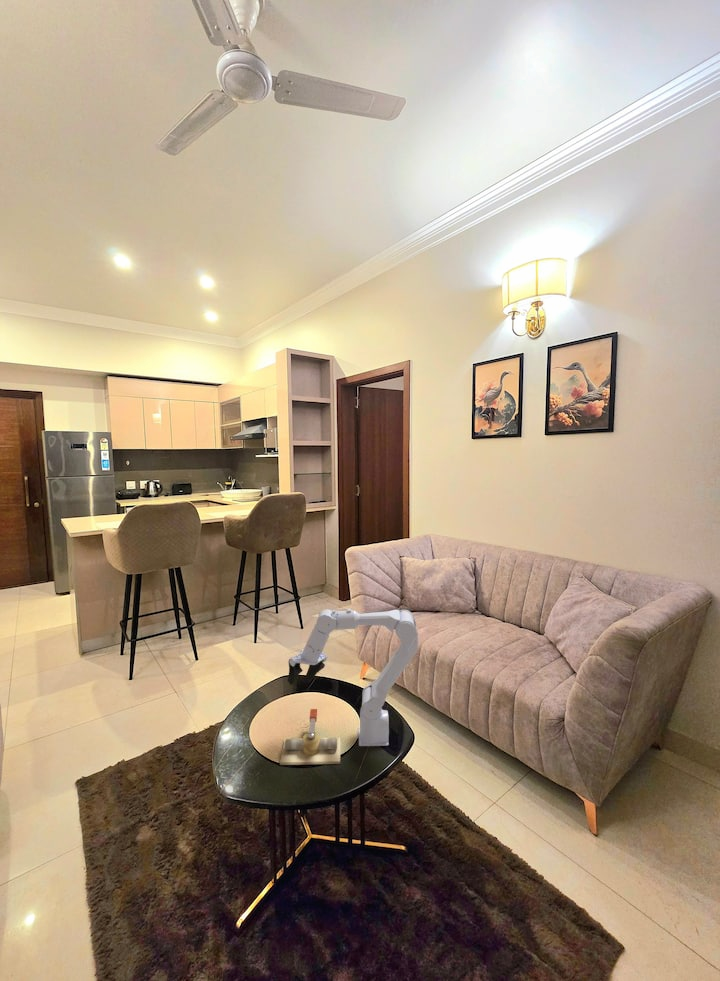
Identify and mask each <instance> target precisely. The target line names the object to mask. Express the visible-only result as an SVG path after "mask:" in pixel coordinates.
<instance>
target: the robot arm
mask: <svg viewBox="0 0 720 981" xmlns="http://www.w3.org/2000/svg"><path fill="white" fill-rule="evenodd" d="M359 626H384V627H386V629H388V630H389V631H390V632H391V633H393V634H394V630H395V634H396V637H398V639H399V640H400V642H401V643H400V645H399V646H398V648H397V650H396V651H395V652H394V654H393V655H392V657H391V658H390V659H389V661H387V664H386V665H385V666H384V668H383V670H382V671H381V672H380V674H379V675H378V676H377V678H376V679H375V680H372V681H371V683H370V684H368V685H367V686H365V687H364V688H363V689H362V695H361V696H362V699H361V700H362V701H361V707H360V709H359V728H357V729H358V730H357V731H358V732H357V733H358V746H359V747H381V746H383V747H384V746H387V747H388V746H389V745H390V744H389V735H390V728H389V727H390V726H389V724H390V723H389V719H390V718H389V712H388V710H386V709H383V706H384V704H385V702H386V699H387V696H388V693H389V692H390V690H391V689H392V687H393V686H394V684H396V681H397V680H398V678H399V677H400V676H401V675H402V674H403V672H404V670H405V669H406V667H407V666H408V664H409V663H410V662H411V660H412V659H413V657H414V656H415V655H416V653H417V651H418V649H419V645H418V644H419V643H418V642H419V639H418V637H419V632H418V628H417V623H416V620H415V616H414V615H413V613H412V611H410V610H408V609H401V610H399V609H392V610H388V611H378V612H377V611H376V612H369V613H368V612H367V613H366V612H365V613H359V612H358V611H356V610H352V608H347V610H336V609H333V610H331V609H327V608H326V609H323V610H321V611H320V612H319V613H318V617H317V620H316V623H315V624H314V626H313V629H312V631H311V633H310V635H309V637H308V639H307V642H306V643H305V646H304V648H303V649H301V650H300V653H298V654H297V655H295V656H291V657H290V658H289V660H288V662H287V663H288V678H287V682H288V684H289V685H290V686H292V685H294V683H295V682H296V680H297V678H298V676H300V674H301V673H302V672H303V671H304V670H303V669H302V667H301V665H302V664H303V665H309V666H308V669H307V672H306V674H305V679H306V680H307V681H308V682H311V681H312V680H313V679H314V677H315V676H317V674H318V673H319V672H320V671H322V670H323V669H324V668H325V666H326V664H325V662H326V661H327V658H328V656H327V654H326V653H325V652H323V651H324V649H325V646H326V644H327V642H328V639H329V638H330V634H331V633H332V632H333V631H335V630H336V631H337V630H341V631H342V630H356V629H357V628H358V627H359Z"/></svg>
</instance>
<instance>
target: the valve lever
mask: <svg viewBox="0 0 720 981" xmlns="http://www.w3.org/2000/svg"><path fill="white" fill-rule="evenodd" d="M317 718H318V709H317V708H311V709H310V711H309V729H308V732H307V733H308V739H314V738H315V732H316V730H315V729H316V723H317Z"/></svg>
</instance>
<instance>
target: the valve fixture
mask: <svg viewBox="0 0 720 981" xmlns="http://www.w3.org/2000/svg"><path fill="white" fill-rule="evenodd" d="M280 755H281V756H280V760H279V766H295V765H297V766H298V765H300V766H301V765H302V766H303V765H335V764H336V765H340V764H341V737H321V736H320V734H319V733H318V732H316V731H315V738H314V739H308V732H305V734H304V735H303V737H302V738H299V737H298V738H297V737H295V738H284V740H283V746H282V750H281V754H280Z"/></svg>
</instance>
